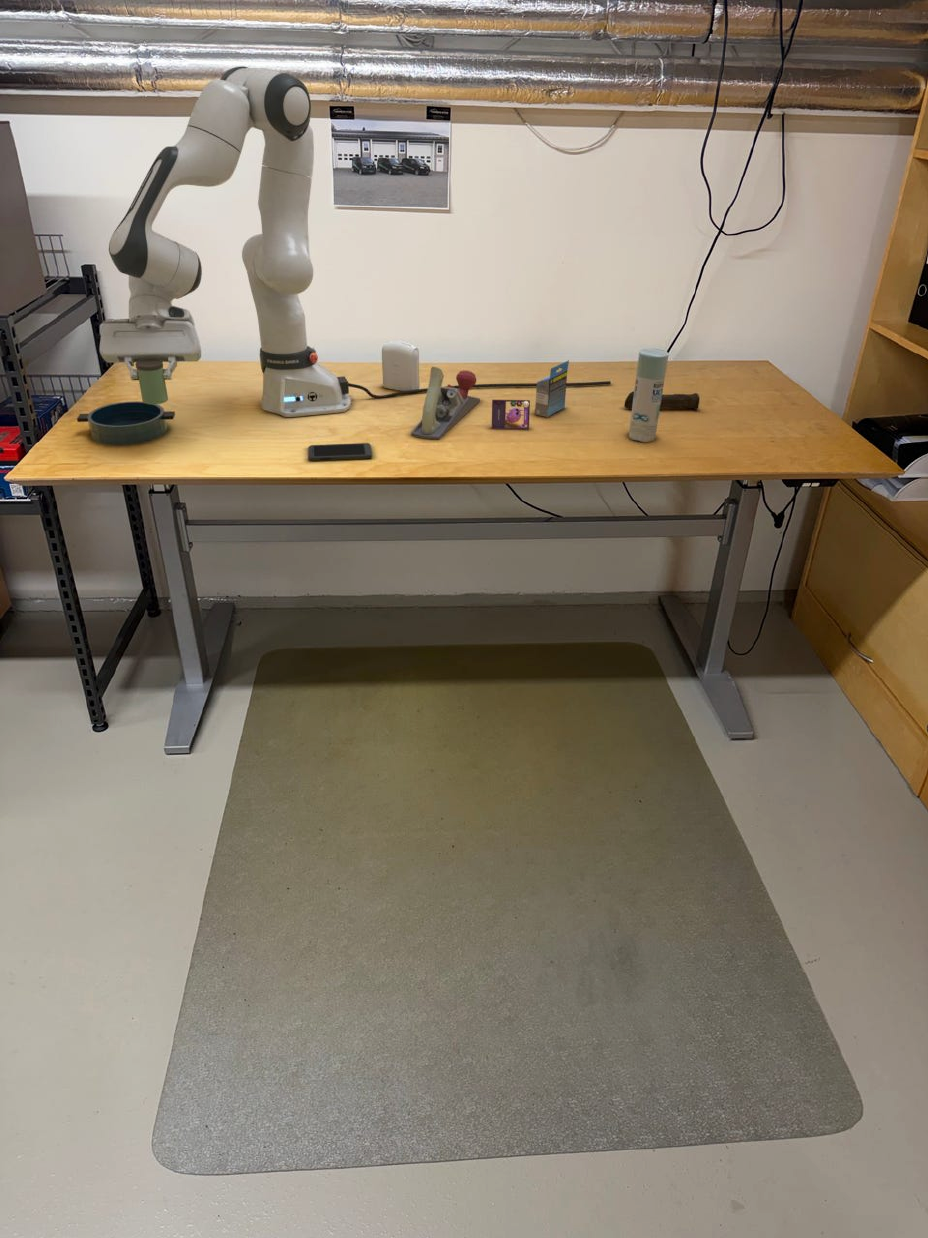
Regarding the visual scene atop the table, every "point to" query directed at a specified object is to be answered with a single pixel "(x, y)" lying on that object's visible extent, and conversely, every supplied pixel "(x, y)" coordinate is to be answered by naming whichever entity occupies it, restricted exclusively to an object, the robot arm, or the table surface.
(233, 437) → the table surface
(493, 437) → the table surface
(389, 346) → the photo printer
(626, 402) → the hand tool
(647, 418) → the spray paint can
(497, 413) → the purple cartoon box
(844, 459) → the table surface
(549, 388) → the tape cartridge
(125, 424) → the pot
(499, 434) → the table surface
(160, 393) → the canister
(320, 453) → the cell phone
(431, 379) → the hand plane
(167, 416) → the pot ear handles
